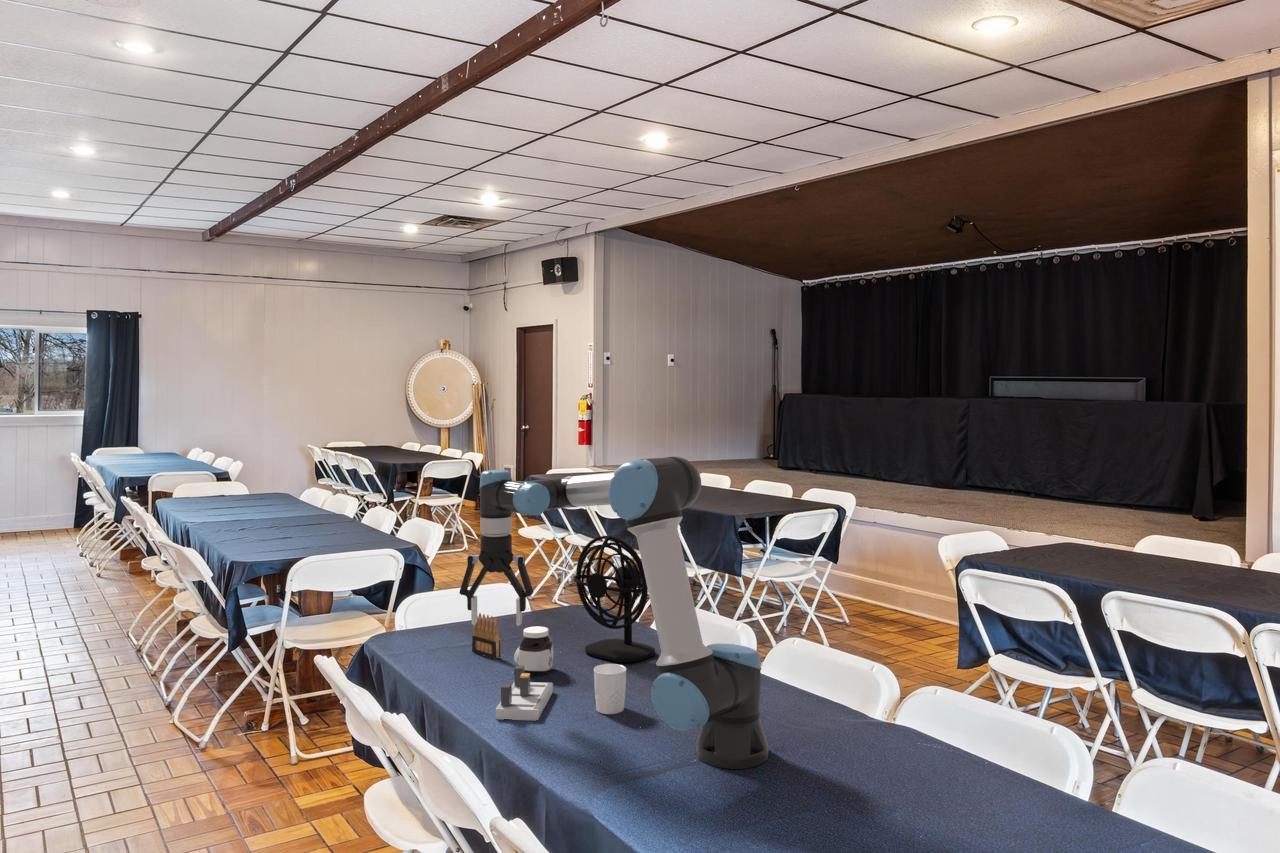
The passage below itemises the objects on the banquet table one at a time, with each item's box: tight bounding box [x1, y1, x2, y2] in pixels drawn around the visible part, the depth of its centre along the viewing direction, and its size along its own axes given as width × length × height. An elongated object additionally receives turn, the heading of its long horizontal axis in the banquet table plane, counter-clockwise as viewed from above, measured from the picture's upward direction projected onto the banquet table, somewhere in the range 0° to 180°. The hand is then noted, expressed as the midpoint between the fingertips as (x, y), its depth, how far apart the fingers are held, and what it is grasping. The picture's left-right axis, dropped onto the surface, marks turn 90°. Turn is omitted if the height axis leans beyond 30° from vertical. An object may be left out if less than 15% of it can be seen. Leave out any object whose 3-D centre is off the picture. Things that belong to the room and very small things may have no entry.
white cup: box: [593, 663, 627, 715], centre depth 217 cm, size 8×8×10 cm
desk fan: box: [573, 535, 656, 663], centre depth 261 cm, size 27×18×35 cm, turn 50°
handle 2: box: [513, 664, 524, 686], centre depth 227 cm, size 2×2×4 cm
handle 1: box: [500, 683, 513, 706], centre depth 213 cm, size 2×2×4 cm
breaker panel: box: [495, 681, 554, 721], centre depth 220 cm, size 19×10×3 cm, turn 175°
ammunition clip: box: [471, 612, 501, 660], centre depth 261 cm, size 11×2×12 cm, turn 49°
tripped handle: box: [520, 673, 531, 696], centre depth 220 cm, size 2×2×5 cm
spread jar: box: [513, 626, 554, 677], centre depth 247 cm, size 12×11×12 cm
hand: (496, 623), depth 220 cm, fingers open, 10 cm apart
